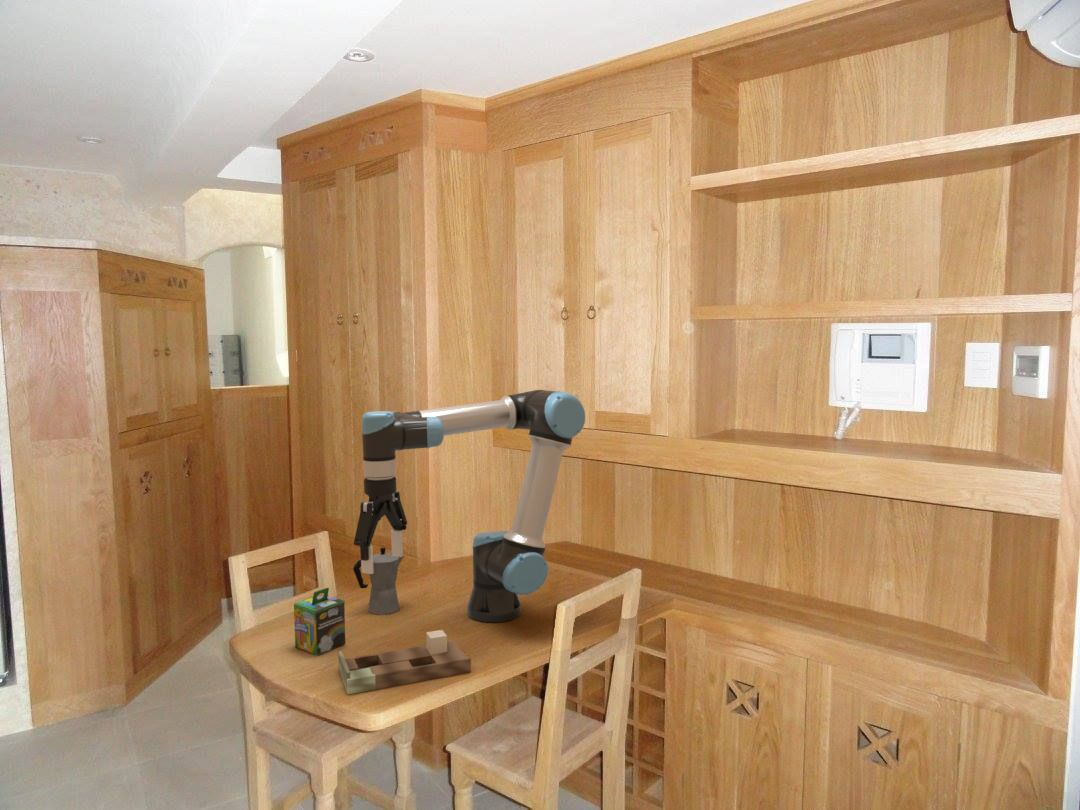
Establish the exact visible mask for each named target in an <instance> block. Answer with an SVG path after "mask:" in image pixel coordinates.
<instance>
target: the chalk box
mask: <svg viewBox="0 0 1080 810" xmlns="http://www.w3.org/2000/svg"><path fill="white" fill-rule="evenodd" d="M329 592H330V588H329V587H325V588H322V589H319V590H317V591H314V592H313V596H310V597H308V598H306V599H303V600H301V601H298V602H295V603H294V604H293V617H294V643H295V644H294V645H295V648H297V649H301V650H303V651H305V652H307V653H309V654H312V655H315V656H317V657H318V656H319V655H321V654H324V653H326V652H327V653H328V652H329V651H331V650H332V651H333V650H334V649H337V648H340V647H341V646H344V644H345V645H346V618H345V617H346V615H345V612H346V611H345V610H346V609H345V603H346V602H345V600H344V599H343V600H342V599H340V598H338V597H337V598H336V597H334V596H331V595H329Z"/></svg>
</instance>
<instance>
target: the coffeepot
mask: <svg viewBox="0 0 1080 810" xmlns="http://www.w3.org/2000/svg"><path fill="white" fill-rule="evenodd" d="M386 549H387V548H386V547H380V550H379V551H380V553H377V554H376V553H375V554H373V574H369V579H370V583H371V587H370V593H369V602H368V613H369V614H372V615H377V616H386V615H391V614H395V613H397V612H398V611H399V610H400V604H399V597H398V593H397V592H398V591H397V586H396V581H397V578H398V570H399V569H398V568H399V566H400V564H401V562H402V560H403V559H404V558H405V555H403V557H395V556H392V553H386ZM352 569H353V572H354V575H355V578H356V580H357V583H358V585H359V588H360V589H366V588H368V586H369V584H368V583H367V584H364V578H363V577H362V571H361V559H358V560H357V561H356V563H355V564H354V565H353V568H352Z"/></svg>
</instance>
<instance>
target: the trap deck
mask: <svg viewBox="0 0 1080 810" xmlns="http://www.w3.org/2000/svg"><path fill="white" fill-rule="evenodd" d="M337 656H338V657H337V658H338V660H337V661H338V663H337V665H338V669H337V670H338V673H339V676H340V678H341V681H342V683H343V686H344V688H345V692H346V693H347V695H352V694H357V693H358V694H359V693H362V692H363V693H364V692H369V691H373V690H374V691H375V690H379V689H385V688H391V687H395V686H402V685H407V684H413V683H419V682H423V681H429V680H434V679H440V678H444V677H451V676H455V675H461V674H467V673H471V672H472V668H471V667H472V666H471V665H472V662H471V661H472V659H471V657H469V656H467V655H466V653H464V651H463V650H462V649H461V647H460V646H459V645H458V643H456V642H455V641H454V640H451V641H447V652H444V653H439V654H433V655H431V654H430V653H429V652H428V650H427V649H426V645H421V646H416V647H415V646H414V647H409V648H403V649H397V650H390V651H385V652H379V653H373V654H366V655H361V656H360V655H359V656H355V657H349V658H345V657H344V654H343V651H340V650H339V651H337Z"/></svg>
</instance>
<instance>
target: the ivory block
mask: <svg viewBox="0 0 1080 810" xmlns="http://www.w3.org/2000/svg"><path fill="white" fill-rule="evenodd" d="M425 638H426V639H425V640H426V641H425V642H426V643H425V644H426V645H425V646H426V649H427V650H428V652H429V653H430V654H431V655H433V654H439V653H444V652H447V642H448V635H447V634H446V633H445V631H444V630H443V629H440V630H439V629H438V630H433V631H426V633H425Z"/></svg>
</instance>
